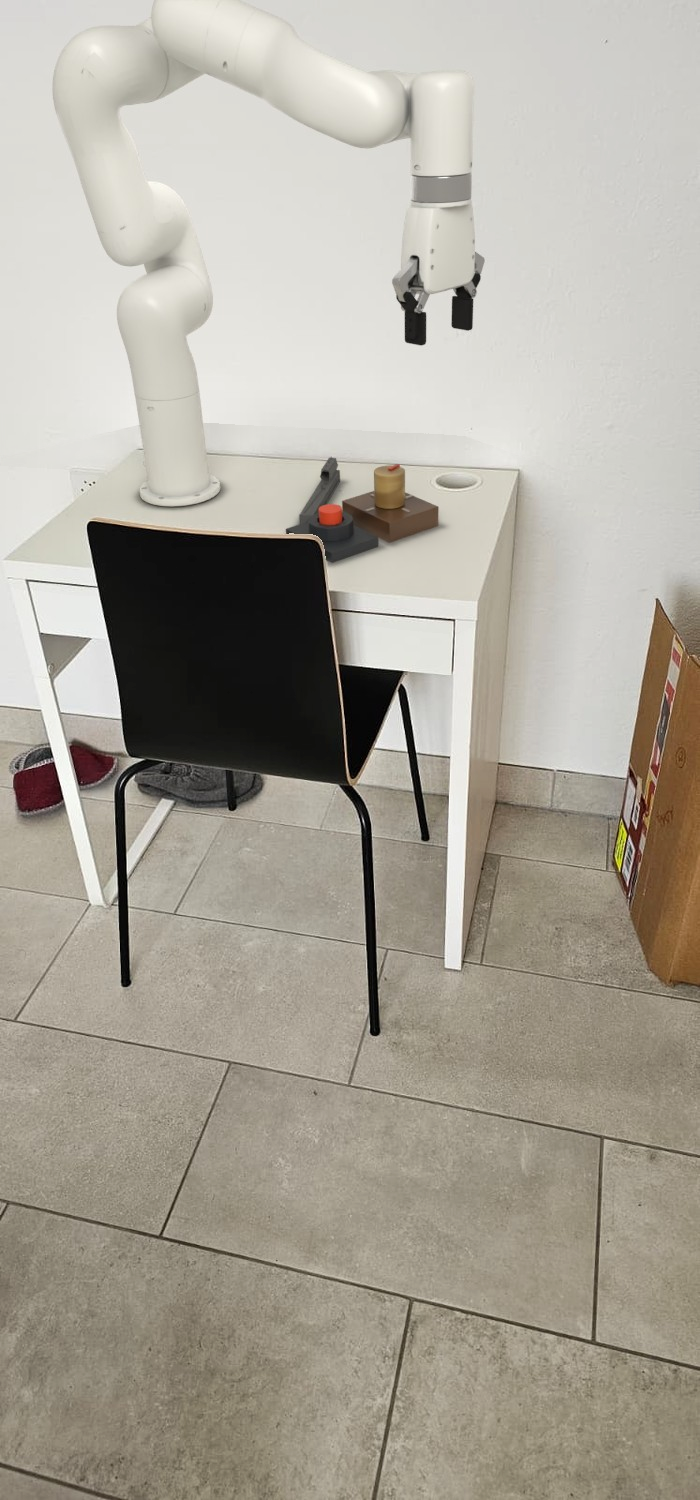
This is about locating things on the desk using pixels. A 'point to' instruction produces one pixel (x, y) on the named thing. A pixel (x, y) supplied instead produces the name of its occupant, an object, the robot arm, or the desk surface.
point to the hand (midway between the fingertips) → (439, 336)
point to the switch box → (338, 537)
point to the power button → (330, 514)
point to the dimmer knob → (389, 486)
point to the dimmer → (391, 516)
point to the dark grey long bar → (322, 490)
